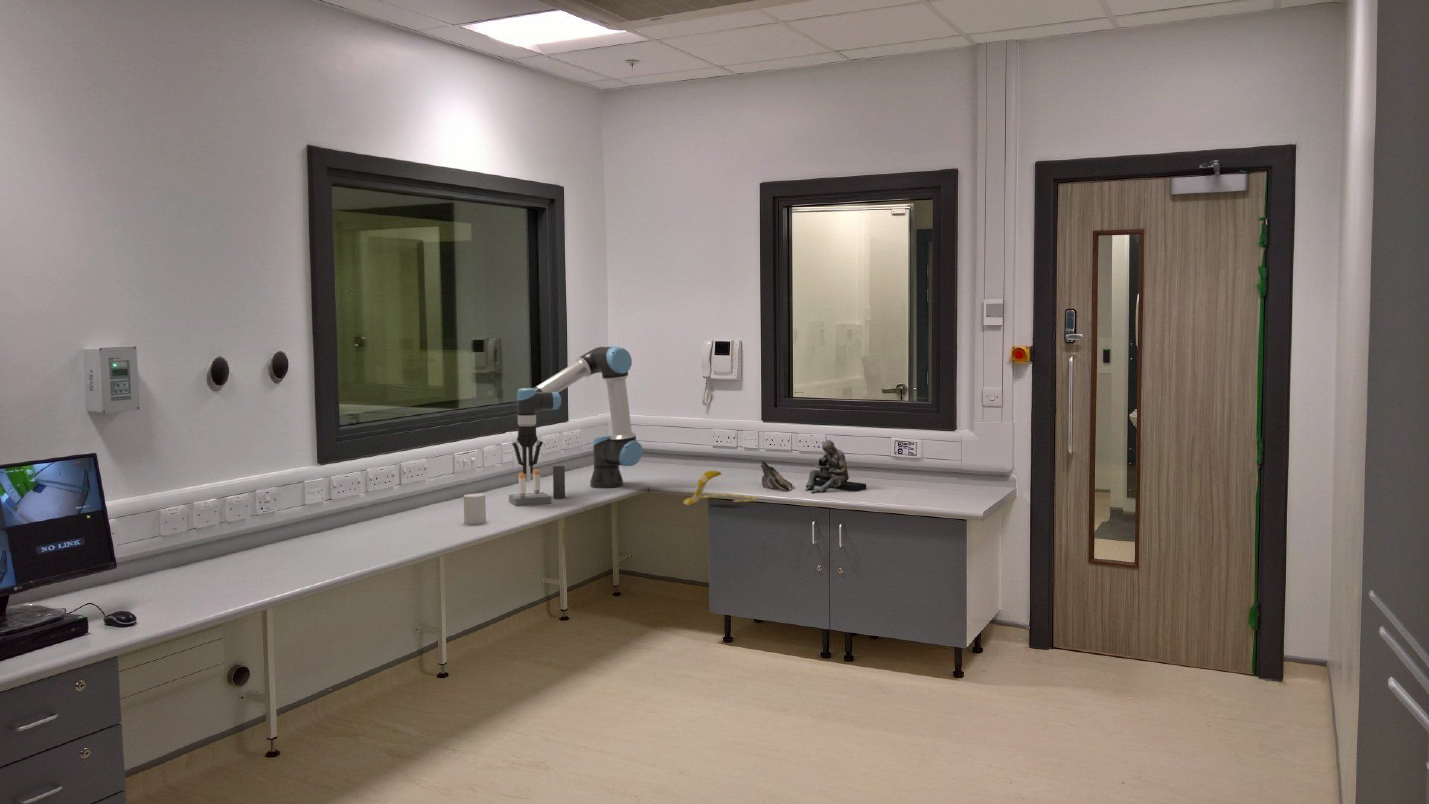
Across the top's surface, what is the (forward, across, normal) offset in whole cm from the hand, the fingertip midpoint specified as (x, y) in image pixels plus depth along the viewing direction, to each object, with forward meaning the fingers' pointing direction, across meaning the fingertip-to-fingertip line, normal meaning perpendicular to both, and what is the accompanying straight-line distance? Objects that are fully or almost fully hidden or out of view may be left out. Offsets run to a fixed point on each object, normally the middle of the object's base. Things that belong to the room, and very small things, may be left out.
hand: (527, 481), depth 419 cm
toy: (+10, -73, +32) cm, 80 cm away
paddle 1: (+6, +2, 0) cm, 6 cm away
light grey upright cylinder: (+13, +26, +25) cm, 38 cm away
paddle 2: (+6, -6, -8) cm, 11 cm away
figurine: (+10, -126, +30) cm, 130 cm away
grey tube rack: (+10, -2, -4) cm, 11 cm away
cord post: (+10, -16, -9) cm, 20 cm away
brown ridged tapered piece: (+2, -100, +21) cm, 102 cm away
